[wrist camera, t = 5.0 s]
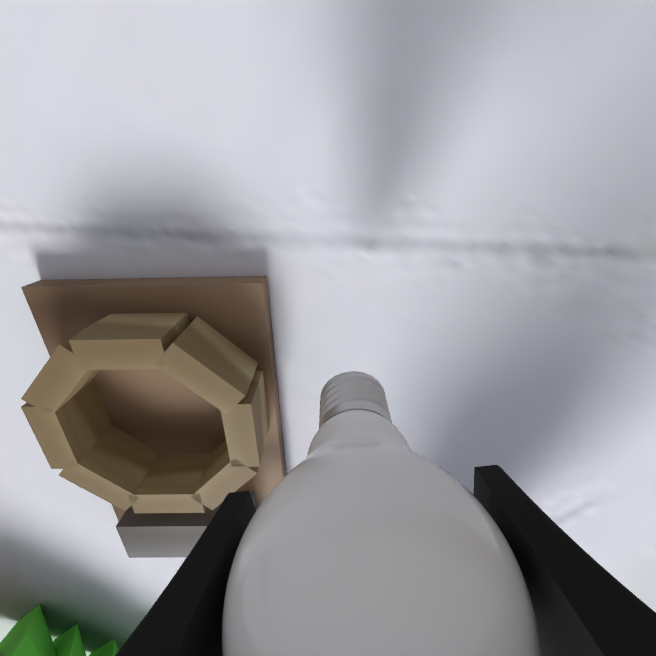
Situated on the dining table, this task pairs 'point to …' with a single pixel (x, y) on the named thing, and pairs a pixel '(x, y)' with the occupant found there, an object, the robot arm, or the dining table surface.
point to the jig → (158, 399)
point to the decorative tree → (47, 640)
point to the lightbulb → (373, 552)
